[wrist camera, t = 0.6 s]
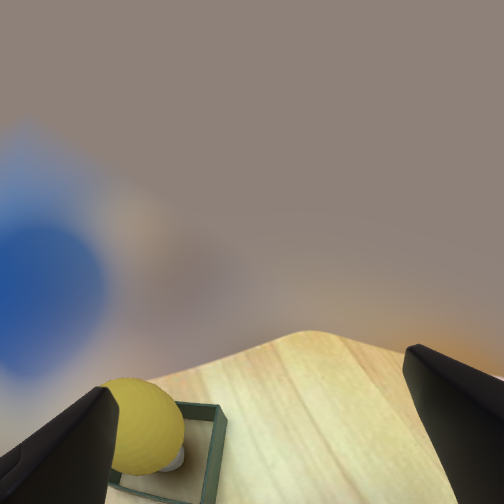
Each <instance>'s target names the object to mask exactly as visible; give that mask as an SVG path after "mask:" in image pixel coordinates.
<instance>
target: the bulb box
mask: <svg viewBox="0 0 504 504" xmlns="http://www.w3.org/2000/svg"><path fill="white" fill-rule="evenodd" d="M174 402H175V403H176V405H177V407H178V408H179V410H180V411H181V413H182V417H183V418H187V419H196V420H208V421H214V424H213V430H212V436H211V442H210V448H209V454H208V460H207V466H206V472H205V478H204V484H203V490H202V496H201V502H200V504H215V502H216V495H217V488H218V481H219V474H220V467H221V460H222V453H223V447H224V440H225V433H226V426H227V418H226V417H225V415H224V413H223V411H222V409H221V407H220V405H214V404H200V403H188V402H178V401H174ZM121 474H122V473H121V472H118V471H116V470H115V469H113V468H111V472H110V477H109V482H108V486H110V487H112V488H115V489H117V490H120V491H123V492H127V493H130V494H133V495H136V496H140V497H143V498H147V499H151V500H155V501H159V502H163V503H167V504H191V503H185V502H180V501H175V500H171V499H166V498H162V497H158V496H153V495H150V494H146V493H142V492H139V491H135V490H132V489H128V488H125V487H122V486H119V481H120V477H121Z"/></svg>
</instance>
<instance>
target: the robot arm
mask: <svg viewBox="0 0 504 504" xmlns="http://www.w3.org/2000/svg"><path fill="white" fill-rule="evenodd" d="M403 375H404V378H405V380H406V383H407V386H408V388H409V391H410V394H411V396H412V399H413V402H414V405H415V407H416V410H417V413H418V415H419V417H420V419H421V421H422V423H423V425H424V427H425V430H426V432H427V434H428V436H429V438H430V440H431V442H432V444H433V446H434V448H435V451H436V453H437V455H438V457H439V459H440V462H441V464H442V466H443V468H444V471H445V473H446V475H447V478H448V480H449V482H450V485H451V487H452V489H453V492H454V494H455V497H456V499H457V502H458V504H504V381H502V380H500V379H497V378H495V377H493V376H491V375H488V374H486V373H484V372H481V371H479V370H477V369H474V368H472V367H470V366H468V365H466V364H463V363H461V362H459V361H457V360H454V359H452V358H450V357H448V356H445V355H443V354H441V353H439V352H437V351H434V350H432V349H430V348H428V347H425V346H423V345H421V344H416V345H413V346H410V347H408V348H407V349H406V352H405V357H404V363H403ZM119 413H120V409H119V405H118V403H117V401H116V400H115V398H114V396H113V394H112V393H111V391H110V389H109V388H108V387H99V386H98V387H95V388H93V389H92V390H91V391H89V392H88V393H87V394H85V395H84V396H83V397H81V398H80V399H79V400H77V401H76V402H75V403H74V404H72V405H71V406H70V407H68V408H67V409H66V410H64V411H63V412H62V413H60V414H59V415H58V416H56V417H55V418H54V419H52V420H51V421H50V422H48V423H47V424H46V425H44V426H43V427H42V428H40V429H39V430H38V431H36V432H35V433H34V434H32V435H31V436H30V437H28V438H27V439H26V440H24V441H23V442H22V443H20V444H19V445H17V446H16V447H15V448H13V449H12V450H11V451H9V452H8V453H6V454H5V455H3V456H2V457H0V504H105V499H106V493H107V488H108V482H109V477H110V472H111V467H112V462H113V458H114V452H115V446H116V437H117V428H118V420H119Z"/></svg>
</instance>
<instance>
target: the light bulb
mask: <svg viewBox="0 0 504 504" xmlns="http://www.w3.org/2000/svg"><path fill="white" fill-rule="evenodd" d="M99 387H108V388H109V389H110V391H111V393H112V394H113V396H114V398H115V400H116V401H117V403H118V405H119V409H120V413H119V420H118V428H117V437H116V446H115V452H114V458H113V462H112V467H111V468H113V469H115V470H116V471H118V472H121V473H124V474H130V475H135V476H139V475H146V474H152V473H154V472H156V471H158V470H159V471H163V472H168V471H172V470H176V469H178V468H179V467H180V466H181V465H182V464H183V462H184V453H185V452H184V448H183V446H182V443H183V441H184V432H185V425H184V421H183V417H182V413H181V411H180V410H179V408H178V407H177V405H176V403H175V402H174V400H173V399H172V398H171V397H170V396H169V395H168V394H167V393H166V392H164V391H163V390H162V389H161V388H159V387H158V386H156V385H155V384H152V383H150V382H147V381H144V380H141V379H137V378H119V379H115V380H110V381H108V382H106V383H104V384H102V385H100V386H99Z"/></svg>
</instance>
